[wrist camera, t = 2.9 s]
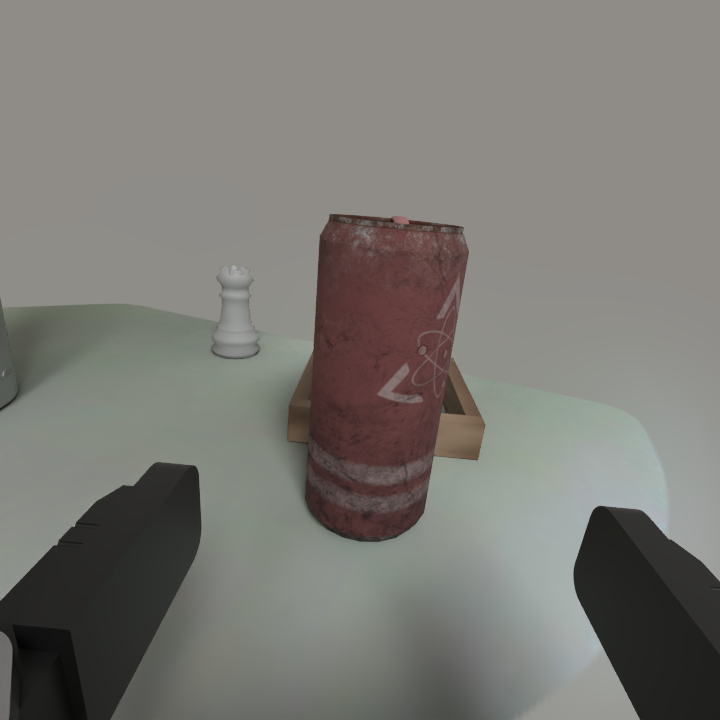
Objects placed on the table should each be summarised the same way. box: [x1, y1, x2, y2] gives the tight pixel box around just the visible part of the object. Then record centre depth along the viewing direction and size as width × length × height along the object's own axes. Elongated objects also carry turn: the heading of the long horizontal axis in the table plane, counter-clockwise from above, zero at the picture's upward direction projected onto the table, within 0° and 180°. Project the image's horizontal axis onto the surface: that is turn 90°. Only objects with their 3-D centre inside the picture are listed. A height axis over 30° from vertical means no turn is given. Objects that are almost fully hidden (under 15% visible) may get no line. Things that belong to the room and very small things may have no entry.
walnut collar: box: [288, 350, 485, 460], centre depth 32 cm, size 12×12×2 cm
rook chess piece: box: [212, 266, 260, 359], centre depth 40 cm, size 4×4×8 cm
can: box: [306, 214, 469, 542], centre depth 20 cm, size 6×6×14 cm
